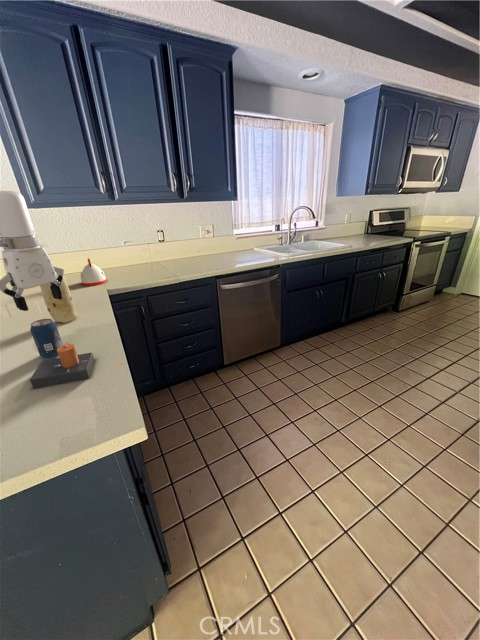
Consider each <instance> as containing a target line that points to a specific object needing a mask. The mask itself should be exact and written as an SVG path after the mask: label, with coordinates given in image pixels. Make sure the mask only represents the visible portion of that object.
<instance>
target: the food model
mask: <svg viewBox="0 0 480 640" xmlns="http://www.w3.org/2000/svg"><path fill="white" fill-rule="evenodd" d="M62 277H63V279H62V281H61V285H60V286H59V287H60V290H61V293H62V299H61V300H60V299H55V298H53V295H52V292H51V289H50V286H51V284H50V283H48V284H44V285H41V286H39V288H40V291H41V294H42V298H43V301H44V304H45V306H46V309H47V311H48V313H49V315H50V317H51V319H52V321H53V322H54V323H62V324H63V323H64V324H67V323H69V322H71V321H74V320H75V319H76V318H77V317H78V314H77V313H76V308H75V304H74V301H73V298H72V294H71V290H70V288H69V285H68V283H67V280H66V277H65V276H64V275H63V276H62Z"/></svg>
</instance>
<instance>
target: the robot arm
mask: <svg viewBox="0 0 480 640" xmlns="http://www.w3.org/2000/svg"><path fill="white" fill-rule="evenodd" d="M36 234H37V233H36V230H35V228H34V225H33V222H32V219H31V216H30V212H29V208H28V205H27V202H26V199H25V197H24V196H23V194H22V193H20V192H18V191H14V190H0V248H2V249H3V250H1V256H2V262H3V263H2V264H3V267H4V270H5V271H4V272H5V275H4V276H3V277H2V278H0V292H2V293H3V294H4V295H7V296H9V297H12V299H13V301H14V304H15V307H16V308H17V309H18V310H20V311H23V312H28V311H29V306H28V304H27V301H26V299H25V297H24V296H22V294H23V292H24V290H29V289H32V288H37V287H40V286H41V285H44V284H48V283H50V284H51V286H50V289H51V292H52V295H53V298H55V299H60V300H61V299H62V293H61V290H60V287H59V286H60V285H61V281H62V279H63V277H62V276H64V272H65V271H64V269H63V268H61V267H57V266H54V265H53V262H52V260H51V259H50V256H49V254H48V253H47V250H46V249H45V248H44V246H41V245H40V244H39V240H38V237H37V235H36ZM7 284H9V285H10V286H11V289H9V287H7Z"/></svg>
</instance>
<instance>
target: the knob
mask: <svg viewBox="0 0 480 640" xmlns="http://www.w3.org/2000/svg"><path fill="white" fill-rule="evenodd" d="M57 352H58V355H59V356H58V358H60V361H61V364H62V366H63V367H64V368H69V367H73V366H75V365H77V364H78V363H79V359H78V355H79V354H78V353H77V350H76V347H75V344H73V343H68V342H67V343H65V344H63V345H62V346H60V347H59V348H57Z"/></svg>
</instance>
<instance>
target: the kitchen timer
mask: <svg viewBox="0 0 480 640" xmlns="http://www.w3.org/2000/svg"><path fill="white" fill-rule="evenodd" d="M80 280H81V285H82V286H85V287H91V286H93V287H95V286H100V285H102V284H105V283H107V278H106V275H105V272H104V270H103V269H101V268H100V267H99V266H97V265H96V264H93V263H91V259H90V258H87V264H86V265H85V266H84V267H83V268H82V271H81V272H80Z"/></svg>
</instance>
